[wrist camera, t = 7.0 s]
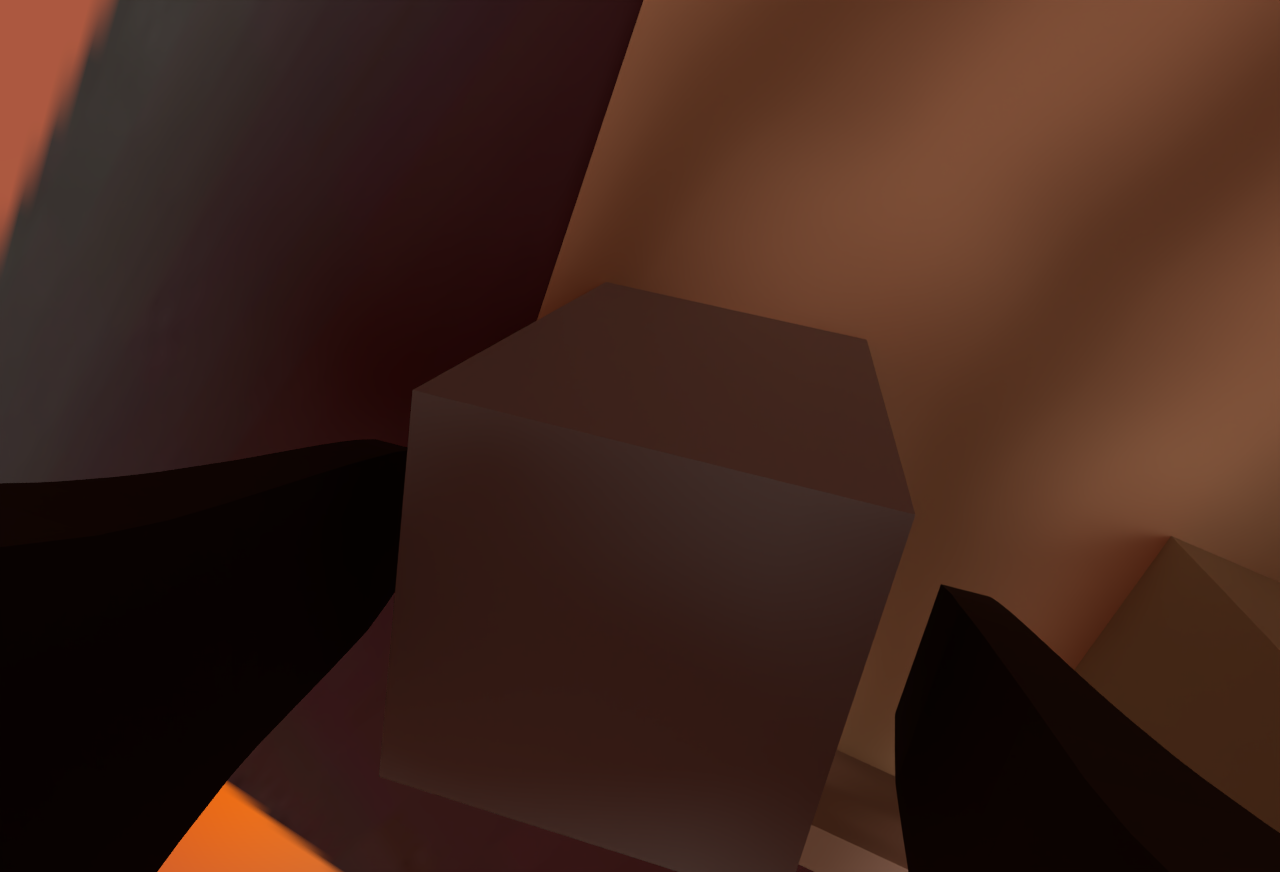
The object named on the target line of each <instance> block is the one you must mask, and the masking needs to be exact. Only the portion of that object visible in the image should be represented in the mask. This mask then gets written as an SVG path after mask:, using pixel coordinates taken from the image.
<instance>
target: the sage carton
mask: <svg viewBox="0 0 1280 872" xmlns="http://www.w3.org/2000/svg"><path fill="white" fill-rule="evenodd" d="M1075 671H1076V672H1077V673H1078V674H1079V675H1080V676H1081V677H1082V678H1083V679H1085V680H1086V681H1087V682H1088V683H1089V684H1090V685H1091V686H1092V687H1093V688H1095V689H1096V690H1097V691H1098V692H1099V693H1100V694H1101V695H1102V696H1104V697H1105V698H1106V699H1107V700H1108V701H1109V702H1110V703H1112V704H1113V705H1114V706H1115V707H1116V708H1117V709H1118V710H1120V711H1121V712H1122V713H1123V714H1124V715H1125V716H1126V717H1128V718H1129V719H1130V720H1131V721H1132V722H1134V723H1135V724H1136V725H1137V726H1139V727H1140V728H1141V729H1142V730H1143V731H1145V732H1146V733H1147V734H1148V735H1149V736H1151V737H1152V738H1153V739H1154V740H1156V741H1157V742H1158V743H1159V744H1160V745H1162V746H1163V747H1164V748H1165V749H1166V750H1168V751H1169V752H1170V753H1171V754H1173V755H1174V756H1175V757H1176V758H1178V759H1179V760H1180V761H1181V762H1183V763H1184V764H1185V765H1187V766H1188V767H1189V768H1191V769H1192V770H1193V771H1194V772H1196V773H1197V774H1198V775H1200V776H1201V777H1202V778H1204V779H1205V780H1206V781H1208V782H1209V783H1210V784H1212V785H1213V786H1215V787H1216V788H1217V789H1219V790H1220V791H1222V792H1223V793H1224V794H1226V795H1227V796H1228V797H1230V798H1231V799H1233V800H1234V801H1235V802H1237V803H1238V804H1240V805H1241V806H1242V807H1244V808H1245V809H1247V810H1248V811H1249V812H1251V813H1252V814H1254V815H1255V816H1256V817H1258V818H1259V819H1260V820H1262V821H1263V822H1265V823H1266V824H1267V825H1269V826H1270V827H1272V828H1273V829H1275V830H1276V831H1278V832H1279V833H1280V582H1278V581H1276V580H1273V579H1271V578H1269V577H1266V576H1264V575H1262V574H1259V573H1257V572H1255V571H1252V570H1250V569H1248V568H1245V567H1243V566H1240V565H1238V564H1236V563H1233V562H1231V561H1229V560H1226V559H1224V558H1222V557H1219V556H1217V555H1215V554H1212V553H1210V552H1208V551H1205V550H1203V549H1201V548H1198V547H1196V546H1194V545H1191V544H1189V543H1187V542H1184V541H1182V540H1180V539H1177V538H1175V537H1173V536H1171V537H1170V538H1169V540H1168V541H1167V542H1166V544H1165V545H1164V547H1163V548H1162V549H1161V551H1160V552H1159V554H1158V555H1157V556H1156V558H1155V559H1154V560H1153V562H1152V563H1151V565H1150V566H1149V567H1148V569H1147V570H1146V572H1145V573H1144V574H1143V576H1142V577H1141V578H1140V580H1139V581H1138V583H1137V584H1136V585H1135V587H1134V588H1133V590H1132V591H1131V592H1130V594H1129V595H1128V596H1127V598H1126V599H1125V601H1124V602H1123V603H1122V605H1121V606H1120V607H1119V609H1118V610H1117V612H1116V613H1115V614H1114V616H1113V617H1112V619H1111V620H1110V621H1109V623H1108V624H1107V625H1106V627H1105V628H1104V630H1103V631H1102V632H1101V634H1100V635H1099V637H1098V638H1097V639H1096V641H1095V642H1094V643H1093V645H1092V646H1091V648H1090V649H1089V650H1088V652H1087V653H1086V654H1085V656H1084V657H1083V659H1082V660H1081V661H1080V663H1079V664H1078V666H1077V667H1076V668H1075Z"/></svg>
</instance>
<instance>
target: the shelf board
mask: <svg viewBox="0 0 1280 872" xmlns="http://www.w3.org/2000/svg"><path fill="white" fill-rule="evenodd" d="M605 282H609V283H613V284H618V285H622V286H627V287H631V288H636V289H640V290H645V291H649V292H654V293H658V294H663V295H667V296H672V297H676V298H681V299H685V300H690V301H694V302H699V303H703V304H708V305H712V306H717V307H721V308H726V309H730V310H735V311H739V312H744V313H748V314H753V315H757V316H762V317H766V318H771V319H775V320H780V321H785V322H789V323H794V324H798V325H803V326H807V327H812V328H816V329H821V330H825V331H830V332H834V333H839V334H843V335H848V336H852V337H857V338H861V339H866V340H867V342H868V346H869V350H870V353H871V357H872V360H873V364H874V368H875V371H876V375H877V378H878V382H879V386H880V389H881V393H882V396H883V400H884V403H885V407H886V411H887V414H888V418H889V421H890V425H891V429H892V432H893V436H894V439H895V443H896V447H897V450H898V454H899V457H900V461H901V464H902V468H903V472H904V475H905V479H906V482H907V486H908V490H909V493H910V497H911V500H912V504H913V508H914V511H915V518H914V521H913V524H912V527H911V530H910V533H909V536H908V539H907V542H906V545H905V548H904V551H903V554H902V557H901V560H900V562H899V565H898V568H897V571H896V574H895V577H894V580H893V583H892V586H891V589H890V592H889V595H888V598H887V601H886V604H885V607H884V610H883V613H882V616H881V619H880V622H879V625H878V628H877V631H876V634H875V637H874V640H873V643H872V646H871V649H870V652H869V655H868V658H867V661H866V664H865V667H864V670H863V673H862V676H861V679H860V682H859V685H858V688H857V691H856V694H855V697H854V700H853V703H852V706H851V709H850V712H849V715H848V718H847V721H846V724H845V727H844V729H843V732H842V735H841V738H840V741H839V744H838V747H837V750H836V753H835V756H834V759H833V762H832V765H831V768H830V771H829V774H828V777H827V780H826V783H825V786H824V789H823V792H822V795H821V798H820V801H819V804H818V807H817V810H816V813H815V816H814V819H813V822H812V825H811V828H810V831H809V834H808V837H807V840H806V843H805V846H804V849H803V852H802V855H801V858H800V861H799V865H801V866H804V867H806V868H808V869H810V870H812V871H814V872H908V866H907V860H906V853H905V847H904V840H903V834H902V827H901V820H900V813H899V807H898V800H897V792H896V785H895V712H896V709H897V707H898V704H899V701H900V698H901V695H902V692H903V690H904V687H905V684H906V681H907V678H908V676H909V673H910V670H911V667H912V664H913V661H914V659H915V656H916V653H917V650H918V647H919V644H920V642H921V639H922V636H923V633H924V630H925V628H926V625H927V622H928V619H929V616H930V613H931V611H932V608H933V605H934V602H935V599H936V597H937V594H938V591H939V588H940V585H941V584H943V585H947V586H951V587H954V588H958V589H962V590H966V591H970V592H974V593H978V594H982V595H986V596H990V597H992V598H993V599H995V600H996V601H997V602H999V603H1000V604H1001V605H1003V606H1004V607H1005V608H1006V609H1008V610H1009V611H1010V612H1011V613H1012V614H1014V615H1015V616H1016V617H1017V618H1018V619H1019V620H1020V621H1021V622H1023V623H1024V624H1025V625H1026V626H1027V627H1028V628H1029V629H1030V630H1031V631H1033V632H1034V633H1035V634H1036V635H1037V636H1038V637H1039V638H1040V639H1041V640H1042V641H1043V642H1044V643H1045V644H1047V645H1048V646H1049V647H1050V648H1051V649H1052V650H1053V651H1054V652H1055V653H1056V654H1057V655H1058V656H1060V657H1061V658H1062V659H1063V660H1064V661H1065V662H1066V663H1067V664H1068V665H1069V666H1070V667H1071V668H1073V669H1074V670H1075V668H1076V667H1077V666H1078V664H1079V663H1080V661H1081V660H1082V659H1083V657H1084V656H1085V654H1086V653H1087V652H1088V650H1089V649H1090V648H1091V646H1092V645H1093V643H1094V642H1095V641H1096V639H1097V638H1098V637H1099V635H1100V634H1101V632H1102V631H1103V630H1104V628H1105V627H1106V625H1107V624H1108V623H1109V621H1110V620H1111V619H1112V617H1113V616H1114V614H1115V613H1116V612H1117V610H1118V609H1119V607H1120V606H1121V605H1122V603H1123V602H1124V601H1125V599H1126V598H1127V596H1128V595H1129V594H1130V592H1131V591H1132V590H1133V588H1134V587H1135V585H1136V584H1137V583H1138V581H1139V580H1140V578H1141V577H1142V576H1143V574H1144V573H1145V572H1146V570H1147V569H1148V567H1149V566H1150V565H1151V563H1152V562H1153V560H1154V559H1155V558H1156V556H1157V555H1158V554H1159V552H1160V551H1161V549H1162V548H1163V547H1164V545H1165V544H1166V542H1167V541H1168V540H1169V538H1170V537H1171V536H1173V537H1175V538H1177V539H1180V540H1182V541H1184V542H1187V543H1189V544H1191V545H1194V546H1196V547H1198V548H1201V549H1203V550H1205V551H1208V552H1210V553H1212V554H1215V555H1217V556H1219V557H1222V558H1224V559H1226V560H1229V561H1231V562H1233V563H1236V564H1238V565H1240V566H1243V567H1245V568H1248V569H1250V570H1252V571H1255V572H1257V573H1259V574H1262V575H1264V576H1266V577H1269V578H1271V579H1273V580H1276V581H1278V582H1280V0H643V3H642V6H641V9H640V12H639V15H638V18H637V21H636V24H635V27H634V30H633V33H632V37H631V40H630V43H629V46H628V49H627V52H626V55H625V58H624V61H623V64H622V67H621V70H620V73H619V76H618V79H617V82H616V85H615V88H614V91H613V94H612V97H611V100H610V103H609V106H608V109H607V112H606V115H605V118H604V121H603V124H602V127H601V130H600V133H599V136H598V139H597V142H596V145H595V148H594V151H593V154H592V157H591V160H590V163H589V166H588V169H587V172H586V175H585V178H584V181H583V184H582V187H581V190H580V193H579V196H578V199H577V202H576V205H575V208H574V211H573V214H572V217H571V220H570V223H569V226H568V229H567V232H566V235H565V238H564V241H563V244H562V247H561V250H560V253H559V256H558V259H557V262H556V265H555V268H554V271H553V274H552V277H551V280H550V283H549V286H548V289H547V292H546V295H545V298H544V301H543V304H542V307H541V310H540V313H539V316H538V319H537V320H539V319H541V318H542V317H544V316H546V315H548V314H550V313H551V312H553V311H555V310H557V309H558V308H560V307H562V306H564V305H566V304H567V303H569V302H571V301H573V300H575V299H576V298H578V297H580V296H582V295H584V294H585V293H587V292H589V291H591V290H592V289H594V288H596V287H598V286H600V285H601V284H603V283H605Z"/></svg>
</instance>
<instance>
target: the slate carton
mask: <svg viewBox="0 0 1280 872" xmlns="http://www.w3.org/2000/svg"><path fill="white" fill-rule="evenodd" d="M914 518H915V511H914V508H913V504H912V500H911V497H910V493H909V490H908V486H907V482H906V479H905V475H904V472H903V468H902V464H901V461H900V457H899V454H898V450H897V447H896V443H895V439H894V436H893V432H892V429H891V425H890V421H889V418H888V414H887V411H886V407H885V403H884V400H883V396H882V393H881V389H880V386H879V382H878V378H877V375H876V371H875V368H874V364H873V360H872V357H871V353H870V350H869V346H868V342H867V340H866V339H861V338H857V337H852V336H848V335H843V334H839V333H834V332H830V331H825V330H821V329H816V328H812V327H807V326H803V325H798V324H794V323H789V322H785V321H780V320H775V319H771V318H766V317H762V316H757V315H753V314H748V313H744V312H739V311H735V310H730V309H726V308H721V307H717V306H712V305H708V304H703V303H699V302H694V301H690V300H685V299H681V298H676V297H672V296H667V295H663V294H658V293H654V292H649V291H645V290H640V289H636V288H631V287H627V286H622V285H618V284H613V283H609V282H605V283H603V284H601V285H600V286H598V287H596V288H594V289H592V290H591V291H589V292H587V293H585V294H584V295H582V296H580V297H578V298H576V299H575V300H573V301H571V302H569V303H567V304H566V305H564V306H562V307H560V308H558V309H557V310H555V311H553V312H551V313H550V314H548V315H546V316H544V317H542V318H541V319H539V320H537V321H535V322H533V323H532V324H530V325H528V326H526V327H525V328H523V329H521V330H519V331H517V332H516V333H514V334H512V335H510V336H508V337H507V338H505V339H503V340H501V341H499V342H498V343H496V344H494V345H492V346H491V347H489V348H487V349H485V350H483V351H482V352H480V353H478V354H476V355H474V356H473V357H471V358H469V359H467V360H466V361H464V362H462V363H460V364H458V365H457V366H455V367H453V368H451V369H449V370H448V371H446V372H444V373H442V374H440V375H439V376H437V377H435V378H433V379H432V380H430V381H428V382H426V383H424V384H423V385H421V386H419V387H417V388H415V389H414V390H413V392H412V403H411V415H410V426H409V438H408V449H407V461H406V472H405V484H404V495H403V507H402V518H401V530H400V541H399V553H398V564H397V576H396V587H395V599H394V610H393V622H392V633H391V645H390V656H389V668H388V679H387V691H386V702H385V714H384V725H383V737H382V748H381V760H380V771H379V777H382V778H385V779H388V780H391V781H394V782H398V783H401V784H404V785H407V786H410V787H413V788H416V789H420V790H423V791H426V792H429V793H432V794H435V795H439V796H442V797H445V798H448V799H451V800H454V801H457V802H461V803H464V804H467V805H470V806H473V807H476V808H480V809H483V810H486V811H489V812H492V813H495V814H498V815H502V816H505V817H508V818H511V819H514V820H517V821H521V822H524V823H527V824H530V825H533V826H536V827H539V828H543V829H546V830H549V831H552V832H555V833H558V834H561V835H565V836H568V837H571V838H574V839H577V840H580V841H584V842H587V843H590V844H593V845H596V846H599V847H602V848H606V849H609V850H612V851H615V852H618V853H621V854H625V855H628V856H631V857H634V858H637V859H640V860H643V861H647V862H650V863H653V864H656V865H659V866H662V867H666V868H669V869H672V870H675V871H678V872H796V870H797V867H798V864H799V861H800V858H801V855H802V852H803V849H804V846H805V843H806V840H807V837H808V834H809V831H810V828H811V825H812V822H813V819H814V816H815V813H816V810H817V807H818V804H819V801H820V798H821V795H822V792H823V789H824V786H825V783H826V780H827V777H828V774H829V771H830V768H831V765H832V762H833V759H834V756H835V753H836V750H837V747H838V744H839V741H840V738H841V735H842V732H843V729H844V727H845V724H846V721H847V718H848V715H849V712H850V709H851V706H852V703H853V700H854V697H855V694H856V691H857V688H858V685H859V682H860V679H861V676H862V673H863V670H864V667H865V664H866V661H867V658H868V655H869V652H870V649H871V646H872V643H873V640H874V637H875V634H876V631H877V628H878V625H879V622H880V619H881V616H882V613H883V610H884V607H885V604H886V601H887V598H888V595H889V592H890V589H891V586H892V583H893V580H894V577H895V574H896V571H897V568H898V565H899V562H900V560H901V557H902V554H903V551H904V548H905V545H906V542H907V539H908V536H909V533H910V530H911V527H912V524H913V521H914Z"/></svg>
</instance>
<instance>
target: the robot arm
mask: <svg viewBox="0 0 1280 872" xmlns="http://www.w3.org/2000/svg"><path fill="white" fill-rule="evenodd" d="M407 449H408V448H407V447H403V446H399V445H395V444H391V443H387V442H383V441H379V440H353V441H344V442H337V443H330V444H324V445H318V446H312V447H307V448H301V449H295V450H290V451H284V452H279V453H273V454H268V455H262V456H257V457H251V458H246V459H240V460H234V461H228V462H221V463H215V464H208V465H202V466H195V467H189V468H182V469H175V470H169V471H162V472H155V473H147V474H139V475H130V476H120V477H111V478H98V479H86V480H73V481H60V482H42V483H3V484H0V872H157V871H158V870H159V869H160V867H161V866H162V865H163V863H164V862H165V861H166V859H167V858H168V856H169V855H170V854H171V852H172V851H173V850H174V848H175V847H176V846H177V844H178V843H179V842H180V840H181V839H182V838H183V836H184V835H185V834H186V833H187V831H188V830H189V829H190V827H191V826H192V825H193V824H194V822H195V821H196V820H197V818H198V817H199V816H200V815H201V813H202V812H203V811H204V810H205V808H206V807H207V806H208V804H209V803H210V802H211V801H212V799H213V798H214V797H215V795H216V794H217V793H218V792H219V790H220V789H221V788H222V786H223V785H224V784H225V783H226V781H227V780H228V779H229V778H230V776H231V775H232V774H233V773H234V772H235V770H236V769H237V768H238V767H239V766H240V765H241V764H242V763H243V761H244V760H245V759H246V758H247V757H248V756H249V755H250V753H251V752H252V751H253V750H254V749H255V748H256V747H257V746H258V745H259V744H260V743H261V741H262V740H263V739H264V738H265V737H266V736H267V735H268V734H269V733H270V732H271V731H272V730H273V729H274V728H275V727H276V726H277V725H278V724H279V723H280V722H281V721H282V720H283V719H284V718H285V717H286V716H287V714H288V713H289V712H290V711H291V710H292V709H293V708H294V707H295V706H296V705H297V704H298V703H299V702H300V701H301V700H302V699H303V698H304V697H305V696H306V695H307V694H308V693H309V692H310V691H311V690H312V689H313V687H314V686H315V685H316V684H317V683H318V682H319V681H320V680H321V679H322V678H323V677H324V676H325V675H326V674H327V673H328V672H329V671H330V670H331V669H332V668H333V667H334V666H335V665H336V663H337V662H338V661H339V660H340V659H341V658H342V657H343V656H344V655H345V654H346V653H347V652H348V651H349V650H350V649H351V648H352V647H353V645H354V644H355V643H356V642H357V641H358V640H359V639H360V638H361V637H362V636H363V635H364V633H365V632H366V631H367V630H368V629H369V627H370V626H371V625H372V623H373V622H374V621H375V619H376V618H377V617H378V615H379V614H380V612H381V611H382V610H383V608H384V607H385V606H386V604H387V603H388V601H389V600H390V598H391V597H392V595H393V594H394V592H395V587H396V576H397V564H398V553H399V541H400V530H401V518H402V507H403V495H404V484H405V472H406V461H407ZM895 785H896V792H897V800H898V807H899V813H900V820H901V827H902V834H903V840H904V847H905V853H906V860H907V866H908V872H1280V833H1279V832H1278V831H1276V830H1275V829H1273V828H1272V827H1270V826H1269V825H1267V824H1266V823H1265V822H1263V821H1262V820H1260V819H1259V818H1258V817H1256V816H1255V815H1254V814H1252V813H1251V812H1249V811H1248V810H1247V809H1245V808H1244V807H1242V806H1241V805H1240V804H1238V803H1237V802H1235V801H1234V800H1233V799H1231V798H1230V797H1228V796H1227V795H1226V794H1224V793H1223V792H1222V791H1220V790H1219V789H1217V788H1216V787H1215V786H1213V785H1212V784H1210V783H1209V782H1208V781H1206V780H1205V779H1204V778H1202V777H1201V776H1200V775H1198V774H1197V773H1196V772H1194V771H1193V770H1192V769H1191V768H1189V767H1188V766H1187V765H1185V764H1184V763H1183V762H1181V761H1180V760H1179V759H1178V758H1176V757H1175V756H1174V755H1173V754H1171V753H1170V752H1169V751H1168V750H1166V749H1165V748H1164V747H1163V746H1162V745H1160V744H1159V743H1158V742H1157V741H1156V740H1154V739H1153V738H1152V737H1151V736H1149V735H1148V734H1147V733H1146V732H1145V731H1143V730H1142V729H1141V728H1140V727H1139V726H1137V725H1136V724H1135V723H1134V722H1132V721H1131V720H1130V719H1129V718H1128V717H1126V716H1125V715H1124V714H1123V713H1122V712H1121V711H1120V710H1118V709H1117V708H1116V707H1115V706H1114V705H1113V704H1112V703H1110V702H1109V701H1108V700H1107V699H1106V698H1105V697H1104V696H1102V695H1101V694H1100V693H1099V692H1098V691H1097V690H1096V689H1095V688H1093V687H1092V686H1091V685H1090V684H1089V683H1088V682H1087V681H1086V680H1085V679H1083V678H1082V677H1081V676H1080V675H1079V674H1078V673H1077V672H1076V671H1075V670H1074V669H1073V668H1071V667H1070V666H1069V665H1068V664H1067V663H1066V662H1065V661H1064V660H1063V659H1062V658H1061V657H1060V656H1058V655H1057V654H1056V653H1055V652H1054V651H1053V650H1052V649H1051V648H1050V647H1049V646H1048V645H1047V644H1045V643H1044V642H1043V641H1042V640H1041V639H1040V638H1039V637H1038V636H1037V635H1036V634H1035V633H1034V632H1033V631H1031V630H1030V629H1029V628H1028V627H1027V626H1026V625H1025V624H1024V623H1023V622H1021V621H1020V620H1019V619H1018V618H1017V617H1016V616H1015V615H1014V614H1012V613H1011V612H1010V611H1009V610H1008V609H1006V608H1005V607H1004V606H1003V605H1001V604H1000V603H999V602H997V601H996V600H995V599H993V598H992V597H990V596H986V595H982V594H978V593H974V592H970V591H966V590H962V589H958V588H954V587H951V586H947V585H943V584H941V585H940V588H939V591H938V594H937V597H936V599H935V602H934V605H933V608H932V611H931V613H930V616H929V619H928V622H927V625H926V628H925V630H924V633H923V636H922V639H921V642H920V644H919V647H918V650H917V653H916V656H915V659H914V661H913V664H912V667H911V670H910V673H909V676H908V678H907V681H906V684H905V687H904V690H903V692H902V695H901V698H900V701H899V704H898V707H897V709H896V712H895Z"/></svg>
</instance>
